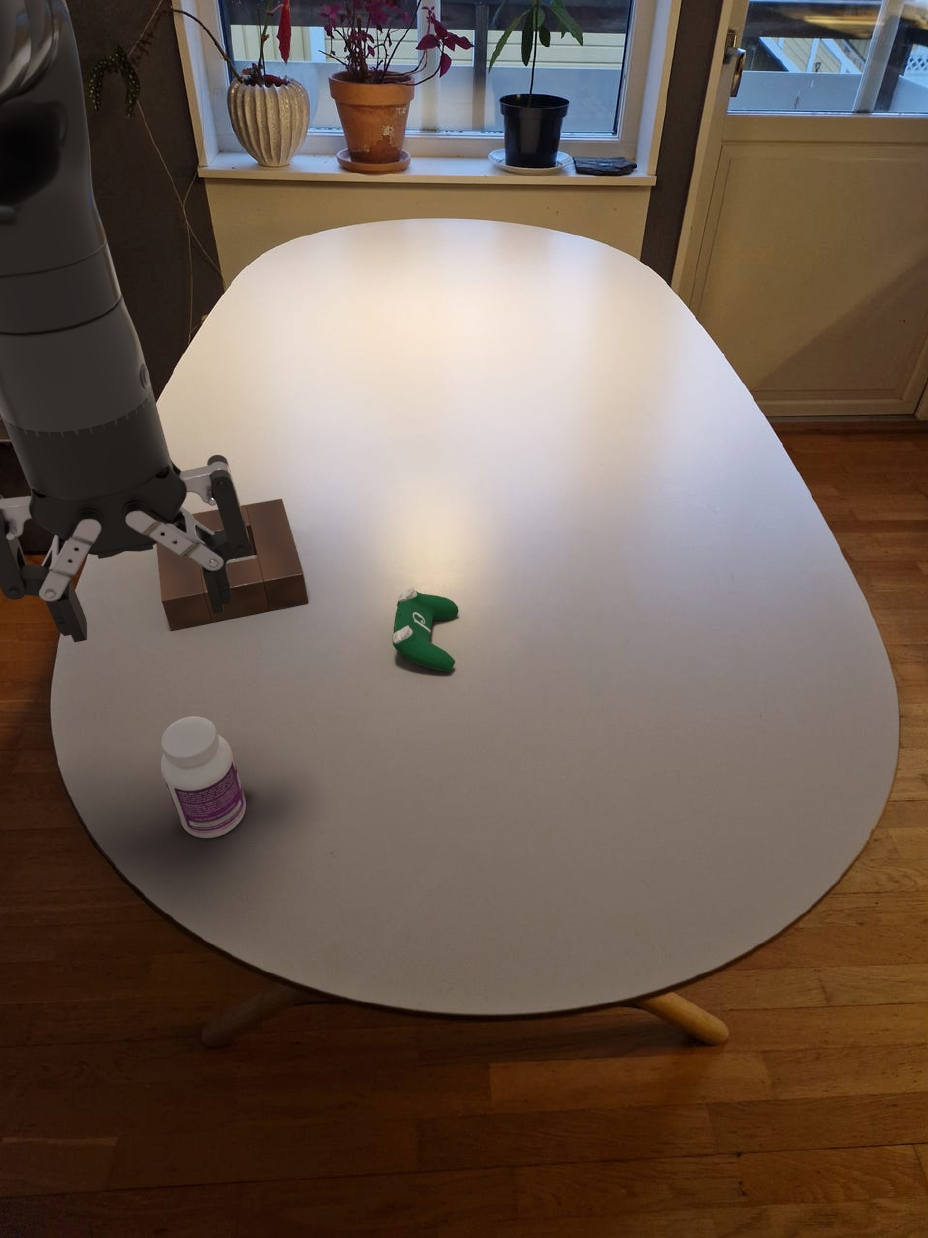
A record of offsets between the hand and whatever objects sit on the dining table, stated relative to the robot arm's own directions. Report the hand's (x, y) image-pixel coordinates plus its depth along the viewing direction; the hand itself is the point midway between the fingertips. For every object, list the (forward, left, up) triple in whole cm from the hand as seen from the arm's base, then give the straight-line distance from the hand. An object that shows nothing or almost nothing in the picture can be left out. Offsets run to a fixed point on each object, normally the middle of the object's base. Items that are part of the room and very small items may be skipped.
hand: (150, 619), depth 56 cm
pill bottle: (0, 0, -22) cm, 22 cm away
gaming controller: (+22, +14, -22) cm, 34 cm away
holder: (+5, +30, -21) cm, 37 cm away
